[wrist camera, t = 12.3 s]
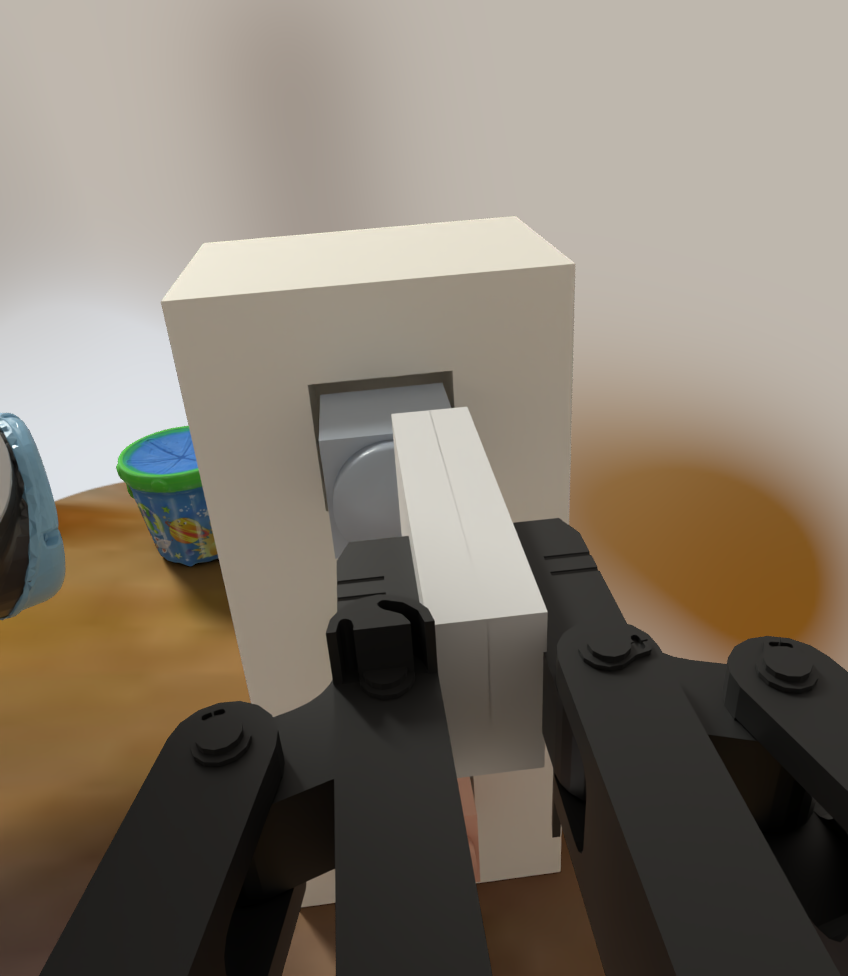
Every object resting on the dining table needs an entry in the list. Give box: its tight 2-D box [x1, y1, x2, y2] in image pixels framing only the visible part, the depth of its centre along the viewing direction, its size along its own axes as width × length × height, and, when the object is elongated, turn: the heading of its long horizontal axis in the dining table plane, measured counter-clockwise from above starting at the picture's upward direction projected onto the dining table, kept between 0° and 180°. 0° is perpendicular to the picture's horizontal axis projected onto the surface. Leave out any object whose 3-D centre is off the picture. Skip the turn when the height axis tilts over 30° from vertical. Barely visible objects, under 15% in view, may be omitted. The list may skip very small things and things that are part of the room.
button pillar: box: [161, 216, 575, 907], centre depth 39 cm, size 10×14×32 cm
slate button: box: [319, 383, 451, 559], centre depth 27 cm, size 5×4×4 cm
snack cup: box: [116, 426, 218, 566], centre depth 72 cm, size 16×10×10 cm
